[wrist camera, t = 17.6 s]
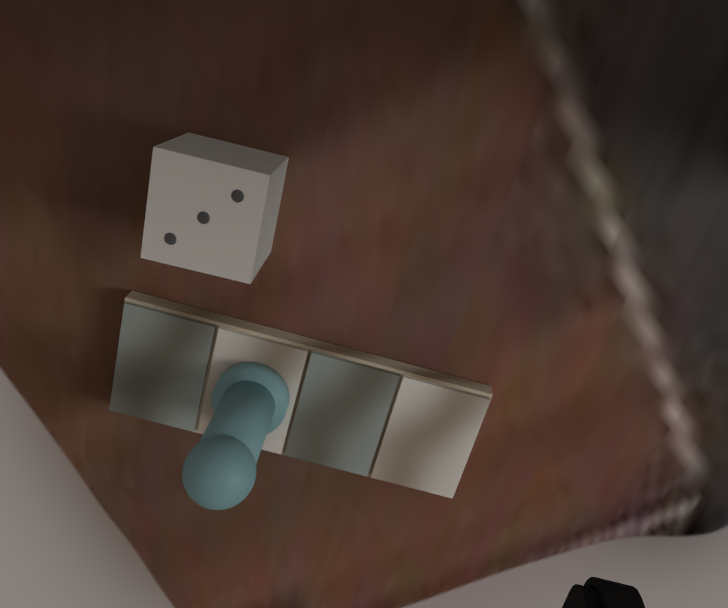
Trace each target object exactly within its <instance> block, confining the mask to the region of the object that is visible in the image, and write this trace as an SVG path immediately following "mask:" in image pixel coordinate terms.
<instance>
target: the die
mask: <svg viewBox="0 0 728 608" xmlns="http://www.w3.org/2000/svg"><path fill="white" fill-rule="evenodd" d="M288 159H289V157H287V156H283V155H278V154H274V153H270V152H266V151H262V150H258V149H254V148H250V147H246V146H242V145H238V144H234V143H230V142H226V141H222V140H217V139H213V138H209V137H205V136H201V135H197V134H193V133H186V134H184V135H181V136H179V137H176V138H174V139H171V140H169V141H166V142H164V143H161V144H159V145H156V146H154V147H153V154H152V162H151V171H150V180H149V189H148V197H147V206H146V215H145V224H144V232H143V241H142V250H141V258H144V259H148V260H152V261H156V262H160V263H165V264H169V265H173V266H177V267H181V268H185V269H190V270H194V271H198V272H202V273H206V274H210V275H215V276H219V277H223V278H227V279H231V280H236V281H240V282H244V283H248V284H251V282H252V281H253V279H254V277H255V276H256V274H257V273H258V271H259V270H260V268H261V267H262V265H263V264H264V262H265V260H266V259H267V257H268V256H269V254H270V253H271V248H272V243H273V238H274V233H275V228H276V222H277V217H278V212H279V207H280V201H281V196H282V191H283V186H284V180H285V175H286V170H287V165H288Z"/></svg>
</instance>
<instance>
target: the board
mask: <svg viewBox="0 0 728 608" xmlns="http://www.w3.org/2000/svg"><path fill="white" fill-rule="evenodd" d="M241 362H258V363H262V364H265V365H267V366H269V367H271V368H273V369H274V370H275V371H277V372H278V373H279V374H280V375H281V376H282V378H283V379H284V381H285V382H286V384H287V387H288V390H289V396H290V397H289V405H288V408H287V411H286V414H285V417H284V419H283V421H282V423H281V424H280V425H279V426H278V427H277V428H276V429H275V430H274V431H272V432H271V433H269V434H266V437H265V440H264V443H263V446H262V450H266V451H270V452H274V453H278V454H282V455H285V456H289V457H293V458H297V459H301V460H305V461H309V462H313V463H316V464H320V465H324V466H328V467H332V468H336V469H340V470H344V471H348V472H351V473H355V474H359V475H363V476H368V477H371V478H375V479H379V480H383V481H387V482H390V483H394V484H398V485H402V486H406V487H410V488H414V489H418V490H422V491H425V492H429V493H433V494H437V495H441V496H445V497H449V498H453V496H454V494H455V491H456V489H457V486H458V483H459V481H460V478H461V476H462V473H463V470H464V468H465V465H466V463H467V460H468V458H469V455H470V452H471V450H472V447H473V445H474V442H475V439H476V437H477V434H478V432H479V429H480V427H481V424H482V421H483V419H484V416H485V414H486V411H487V408H488V406H489V403H490V401H491V398H492V396H493V393H492V390H491V386H490V385H486V384H482V383H478V382H475V381H471V380H467V379H463V378H459V377H456V376H452V375H448V374H444V373H441V372H437V371H433V370H429V369H426V368H422V367H418V366H414V365H410V364H407V363H403V362H399V361H395V360H392V359H388V358H384V357H380V356H377V355H373V354H369V353H365V352H362V351H358V350H354V349H350V348H346V347H343V346H339V345H335V344H331V343H328V342H324V341H320V340H316V339H313V338H309V337H305V336H301V335H297V334H294V333H290V332H286V331H282V330H279V329H275V328H271V327H267V326H264V325H260V324H256V323H252V322H249V321H245V320H241V319H237V318H233V317H230V316H226V315H222V314H218V313H215V312H211V311H207V310H203V309H200V308H196V307H192V306H188V305H184V304H181V303H177V302H173V301H169V300H166V299H162V298H158V297H154V296H151V295H147V294H143V293H139V292H135V291H131V292H130V293H129V294H128V295H127V296H126V297H125V302H124V309H123V316H122V323H121V330H120V337H119V344H118V351H117V358H116V365H115V372H114V379H113V386H112V393H111V400H110V407H109V410H110V411H114V412H118V413H122V414H126V415H130V416H134V417H137V418H141V419H145V420H149V421H153V422H157V423H161V424H165V425H169V426H172V427H176V428H180V429H184V430H188V431H192V432H197V433H200V434H204V432H205V430H206V428H207V426H208V424H209V422H210V420H211V418H212V416H213V414H214V412H213V409H212V404H211V397H212V392H213V389H214V387H215V385H216V383H217V382H218V380H219V378H220V376H221V375H222V374H223V372H224V371H225V370H227V369H228V368H229V367H231V366H233V365H235V364H238V363H241Z"/></svg>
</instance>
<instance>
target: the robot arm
mask: <svg viewBox="0 0 728 608" xmlns="http://www.w3.org/2000/svg"><path fill="white" fill-rule="evenodd" d="M562 608H645V606H644V604H643V601H642V598H641V596H640V594H639V592H638V590H637V589H636V588H634V587H633V586H629V585H625V584H621V583H617V582H613V581H609V580H604V579H600V578H596V577H591V578H589V579H588V580H587V581H586V583H585V584H584V586H582V585H576V584H575V585H574V586H573V587H572V588H571V590H570V592H569V594H568V596H567V598H566V601H565V603H564V605H563V607H562Z"/></svg>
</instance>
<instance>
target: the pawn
mask: <svg viewBox="0 0 728 608" xmlns="http://www.w3.org/2000/svg"><path fill="white" fill-rule="evenodd" d="M289 397H290V396H289V390H288V387H287V384H286V382H285V381H284V379H283V378H282V376H281V375H280V374H279V373H278V372H277V371H275V370H274V369H273V368H271V367H269V366H267V365H265V364H262V363H258V362H241V363H238V364H235V365H233V366H231V367H229V368H228V369H227V370H225V371H224V372H223V374H222V375H221V376H220V378H219V380H218V382H217V383H216V385H215V387H214V389H213V392H212V397H211V404H212V409H213V412H214V414H213V416H212V418H211V420H210V422H209V424H208V426H207V428H206V430H205V432H204V434H203V436H202V438H201V440H200V442H199V443H198V444H197V445H195V446H194V447H193V448H192V450H191V451H190V452H189V454H188V455H187V457H186V459H185V462H184V465H183V471H182V477H183V484H184V487H185V490H186V492H187V493H188V495H189V496H190V498H191V499H192V500H193V501H194V502H196V503H197V504H198V505H200V506H202V507H205V508H208V509H212V510H223V509H227V508H231V507H233V506H235V505H237V504H239V503H240V502H241V501H242V500H244V499H245V498H246V497H247V495H248V494H249V493H250V491H251V489H252V487H253V485H254V482H255V478H256V463H257V460H258V457H259V454H260V452H261V449H262V446H263V443H264V440H265V437H266V434H269V433H271V432H272V431H274V430H275V429H276V428H277V427H278V426H279V425H280V424H281V423H282V421H283V419H284V417H285V414H286V411H287V408H288V405H289Z"/></svg>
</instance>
